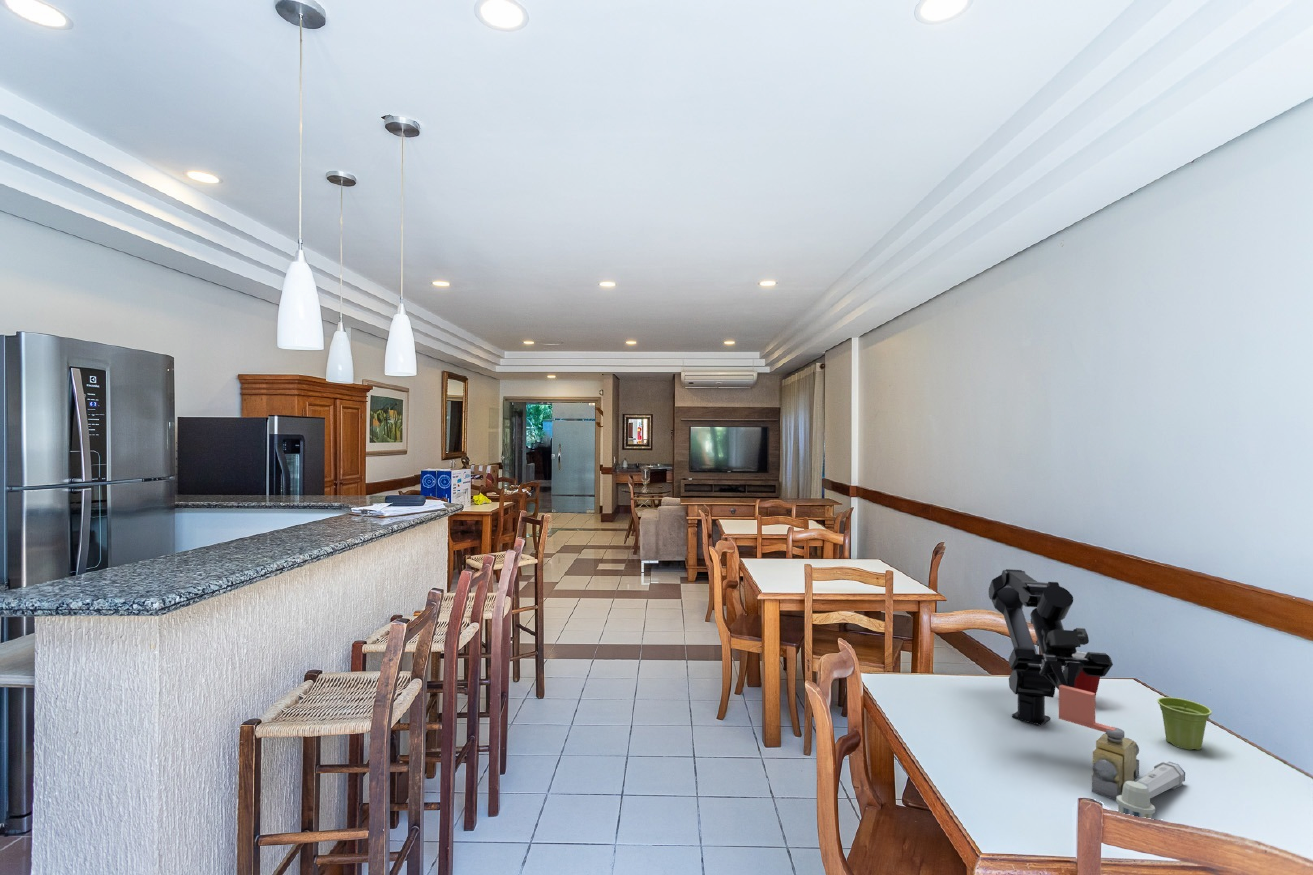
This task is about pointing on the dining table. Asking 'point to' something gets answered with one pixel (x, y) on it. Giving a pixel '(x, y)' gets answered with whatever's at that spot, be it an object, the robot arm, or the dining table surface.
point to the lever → (1082, 710)
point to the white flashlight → (1149, 789)
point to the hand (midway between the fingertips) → (1070, 699)
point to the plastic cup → (1085, 678)
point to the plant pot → (1184, 722)
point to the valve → (1114, 765)
